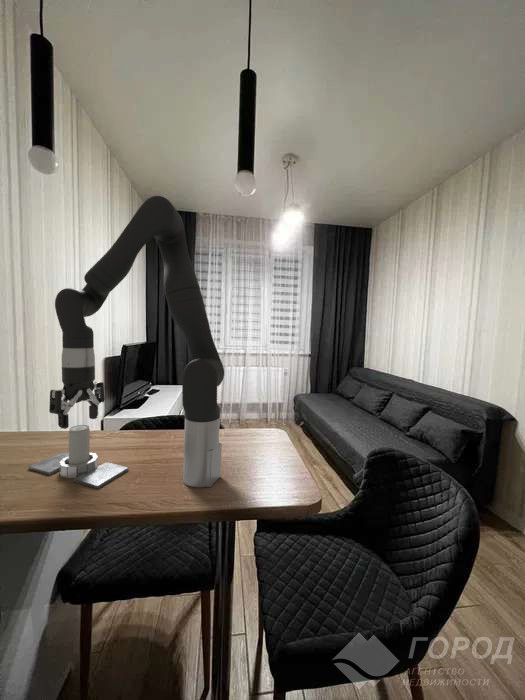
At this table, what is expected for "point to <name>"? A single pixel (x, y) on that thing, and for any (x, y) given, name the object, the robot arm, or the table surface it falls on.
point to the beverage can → (79, 444)
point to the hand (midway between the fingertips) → (79, 423)
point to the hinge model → (80, 470)
